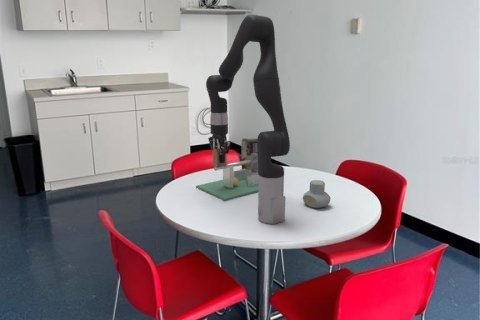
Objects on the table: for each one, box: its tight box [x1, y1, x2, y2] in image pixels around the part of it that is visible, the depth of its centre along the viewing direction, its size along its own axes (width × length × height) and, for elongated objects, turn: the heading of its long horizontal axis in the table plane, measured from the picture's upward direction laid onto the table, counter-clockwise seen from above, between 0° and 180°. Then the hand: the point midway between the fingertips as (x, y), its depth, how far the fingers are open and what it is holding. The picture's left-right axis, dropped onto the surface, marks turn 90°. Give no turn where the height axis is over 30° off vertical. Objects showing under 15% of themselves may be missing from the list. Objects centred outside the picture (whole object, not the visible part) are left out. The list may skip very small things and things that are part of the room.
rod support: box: [251, 153, 259, 174], centre depth 200 cm, size 7×2×14 cm, turn 38°
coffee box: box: [240, 138, 257, 171], centre depth 220 cm, size 9×6×16 cm
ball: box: [233, 177, 238, 186], centre depth 193 cm, size 4×4×4 cm
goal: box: [233, 168, 259, 187], centre depth 197 cm, size 11×6×5 cm, turn 38°
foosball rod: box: [212, 147, 257, 188], centre depth 194 cm, size 5×31×18 cm, turn 128°
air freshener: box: [302, 179, 331, 209], centre depth 171 cm, size 11×8×10 cm
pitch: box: [195, 179, 258, 202], centre depth 193 cm, size 22×24×1 cm
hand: (219, 161), depth 186 cm, fingers closed on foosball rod, 3 cm apart
